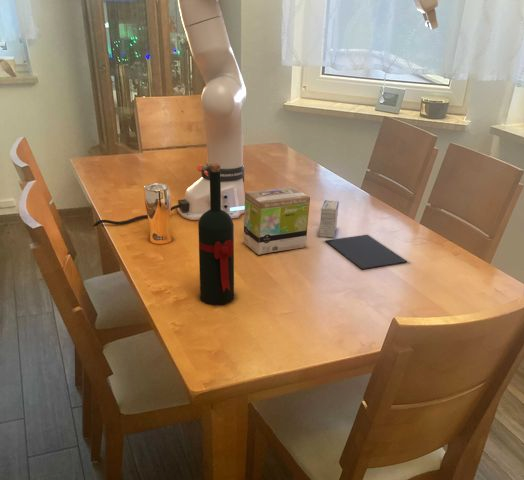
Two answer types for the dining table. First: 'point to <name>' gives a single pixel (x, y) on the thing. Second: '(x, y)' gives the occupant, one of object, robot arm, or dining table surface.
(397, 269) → the dining table surface
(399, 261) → the felt mat
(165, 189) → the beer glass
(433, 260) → the dining table surface
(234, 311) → the dining table surface
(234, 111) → the robot arm
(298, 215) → the tea box
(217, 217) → the wine bottle
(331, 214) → the medicine box
